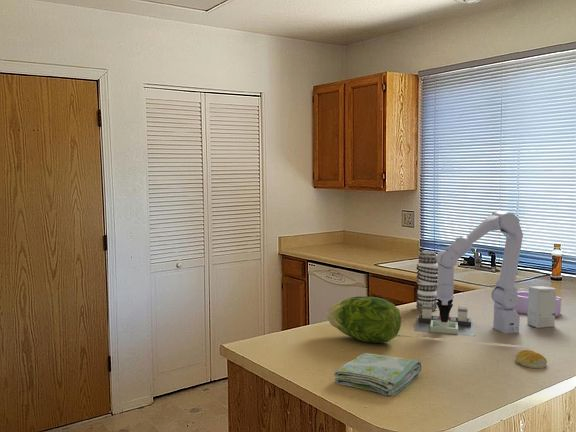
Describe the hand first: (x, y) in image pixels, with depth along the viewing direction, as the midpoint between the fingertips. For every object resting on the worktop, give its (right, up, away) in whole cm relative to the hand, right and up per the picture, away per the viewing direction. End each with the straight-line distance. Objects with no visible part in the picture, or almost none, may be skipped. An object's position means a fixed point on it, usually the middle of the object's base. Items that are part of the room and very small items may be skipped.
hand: (444, 320), depth 202 cm
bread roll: (+17, -7, -33) cm, 38 cm away
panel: (+1, -4, +4) cm, 6 cm away
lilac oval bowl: (+47, -2, +31) cm, 56 cm away
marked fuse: (0, -3, 0) cm, 3 cm away
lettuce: (-31, -5, -11) cm, 34 cm away
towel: (-32, -8, -47) cm, 57 cm away
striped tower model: (+1, -2, +31) cm, 31 cm away
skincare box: (+40, -4, +9) cm, 41 cm away
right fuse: (+9, -3, +7) cm, 12 cm away
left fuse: (-4, -3, +11) cm, 12 cm away
